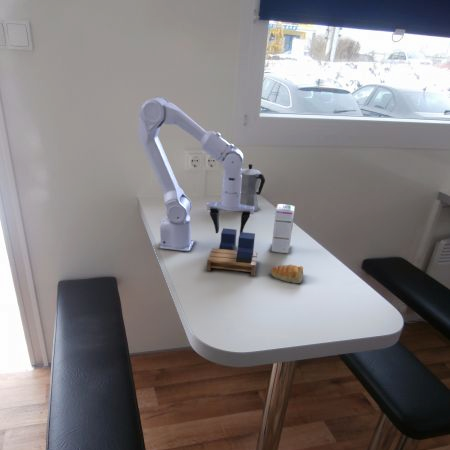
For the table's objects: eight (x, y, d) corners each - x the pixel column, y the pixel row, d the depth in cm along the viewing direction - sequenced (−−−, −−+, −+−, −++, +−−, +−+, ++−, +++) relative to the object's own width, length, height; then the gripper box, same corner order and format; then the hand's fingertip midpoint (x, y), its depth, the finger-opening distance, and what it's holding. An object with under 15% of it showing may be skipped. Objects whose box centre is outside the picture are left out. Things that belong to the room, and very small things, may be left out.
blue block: (222, 246, 135) (223, 228, 131) (235, 248, 134) (236, 229, 131) (218, 255, 129) (219, 236, 125) (232, 256, 128) (233, 237, 125)
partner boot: (238, 251, 123) (240, 231, 120) (253, 253, 123) (255, 233, 120) (236, 261, 117) (237, 240, 114) (251, 263, 117) (253, 242, 114)
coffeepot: (228, 205, 171) (231, 161, 162) (245, 202, 176) (249, 159, 167) (252, 216, 161) (256, 170, 152) (269, 212, 166) (274, 167, 157)
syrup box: (288, 253, 133) (294, 210, 125) (270, 251, 133) (275, 208, 126) (289, 246, 137) (295, 205, 130) (272, 244, 138) (277, 203, 131)
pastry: (269, 280, 116) (270, 268, 114) (271, 269, 122) (273, 258, 120) (302, 284, 115) (304, 272, 113) (303, 274, 121) (305, 262, 119)
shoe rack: (206, 270, 119) (207, 260, 117) (212, 258, 127) (212, 247, 125) (254, 276, 118) (255, 265, 116) (256, 263, 126) (257, 252, 124)
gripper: (256, 189, 125) (252, 230, 132) (210, 185, 127) (208, 226, 134) (254, 196, 119) (250, 239, 126) (206, 191, 121) (204, 234, 128)
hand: (229, 233), depth 130 cm, fingers open, 7 cm apart
